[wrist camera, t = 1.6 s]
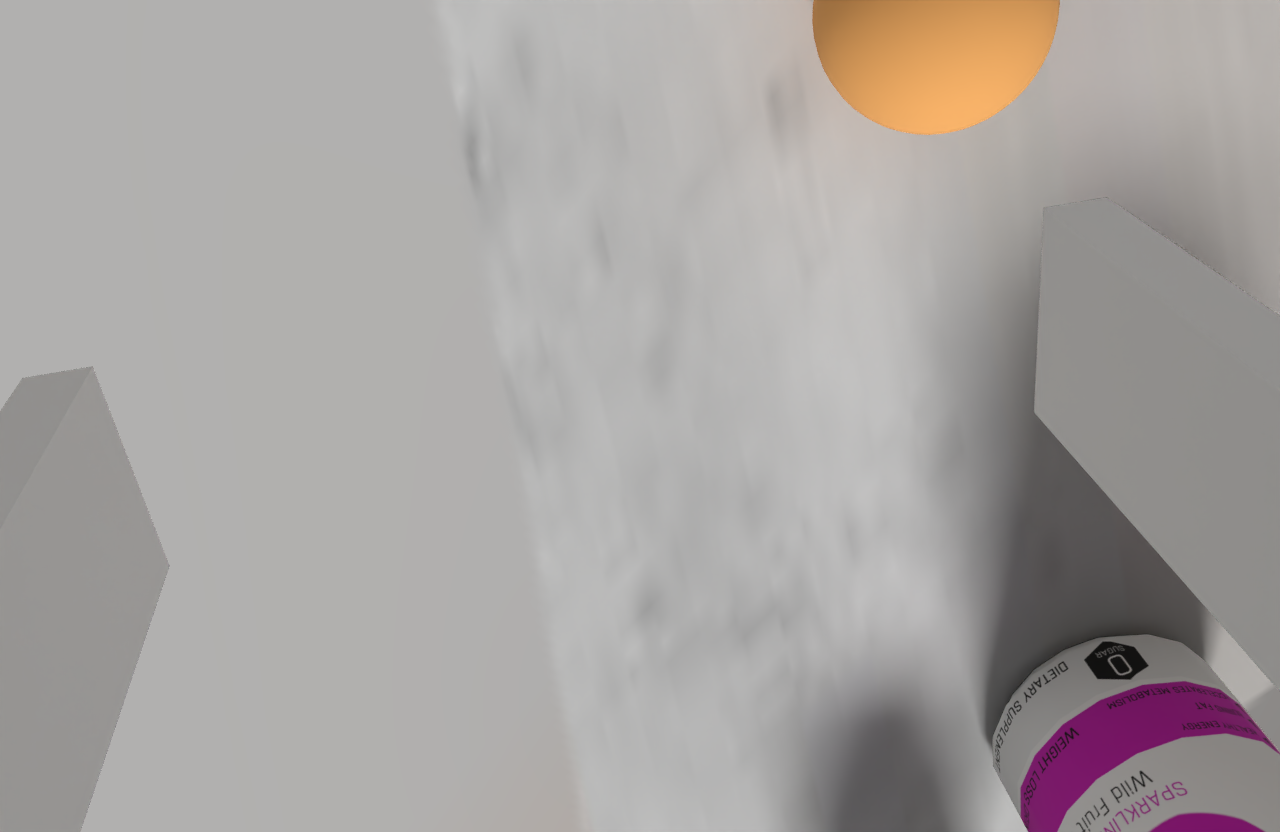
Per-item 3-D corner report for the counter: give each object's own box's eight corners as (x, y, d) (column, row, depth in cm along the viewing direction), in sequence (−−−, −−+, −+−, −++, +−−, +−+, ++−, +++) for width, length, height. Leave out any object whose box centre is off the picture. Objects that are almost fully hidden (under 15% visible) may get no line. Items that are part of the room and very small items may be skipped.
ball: (1004, -145, 29) (1113, -124, 24) (998, 84, 32) (1095, 143, 27) (781, -112, 29) (846, -84, 24) (793, 116, 32) (855, 182, 27)
